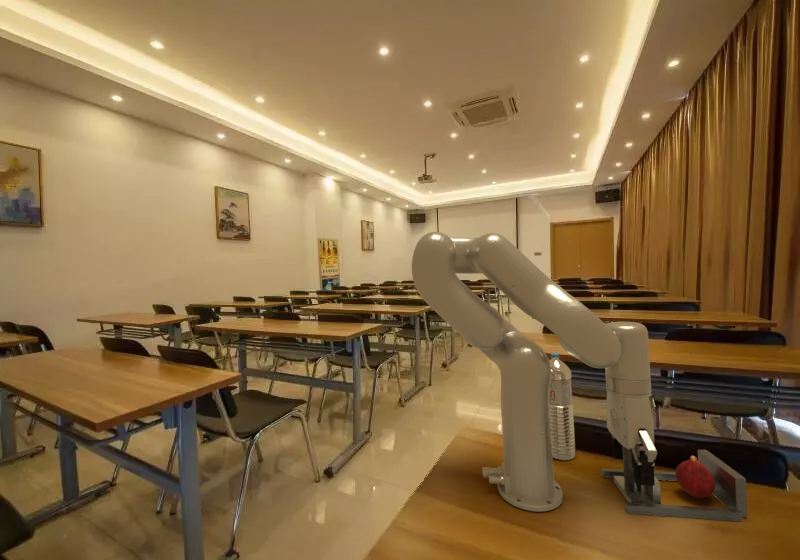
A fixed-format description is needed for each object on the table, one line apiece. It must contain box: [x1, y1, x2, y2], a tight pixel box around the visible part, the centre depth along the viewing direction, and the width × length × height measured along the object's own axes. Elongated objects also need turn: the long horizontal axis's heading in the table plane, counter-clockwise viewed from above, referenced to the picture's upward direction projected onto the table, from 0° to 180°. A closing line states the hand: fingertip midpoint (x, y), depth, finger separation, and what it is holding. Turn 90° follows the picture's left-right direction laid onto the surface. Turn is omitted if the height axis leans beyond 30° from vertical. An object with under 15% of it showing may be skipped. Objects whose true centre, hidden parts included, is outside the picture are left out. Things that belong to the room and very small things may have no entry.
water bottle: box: [549, 352, 576, 461], centre depth 84 cm, size 7×7×25 cm
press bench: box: [601, 449, 749, 522], centre depth 67 cm, size 20×12×7 cm, turn 79°
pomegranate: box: [675, 455, 715, 499], centre depth 66 cm, size 6×6×8 cm
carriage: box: [612, 443, 662, 504], centre depth 68 cm, size 5×8×12 cm, turn 169°
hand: (632, 470), depth 68 cm, fingers open, 8 cm apart
